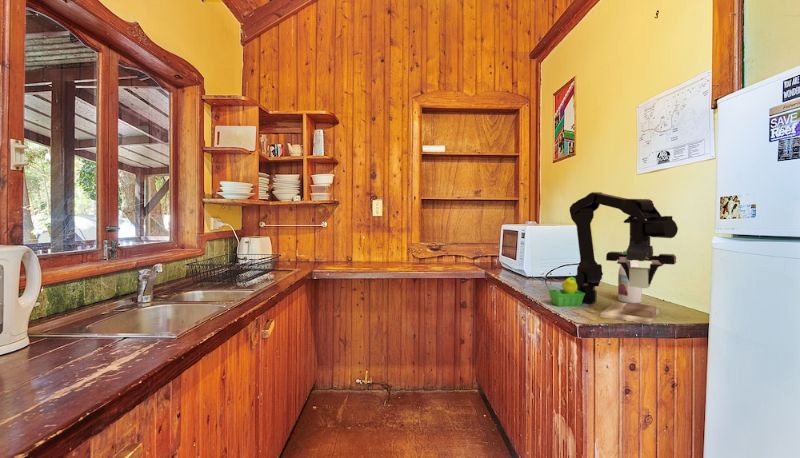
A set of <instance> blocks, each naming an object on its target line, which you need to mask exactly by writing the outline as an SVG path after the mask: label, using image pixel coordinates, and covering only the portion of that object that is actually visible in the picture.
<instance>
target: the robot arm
mask: <svg viewBox="0 0 800 458" xmlns="http://www.w3.org/2000/svg"><path fill="white" fill-rule="evenodd" d="M653 202H654V201H653V200H652V199H649V198H626V197H622V196H617V195H611V194H606V193H603V192H601V191H600V192H598V191H597V192H595V191H592V192H590V193H588V194H586V196H584V197H582V198H580V199H578V200H577V201H575V202H573V203H572V204H571V205H570V207H569V214H570V215H569V216H570V219H571V220H572V221H573V223H574V224H575V225H576V234H577V241H578V250H579V258H580V259H579V260H580V262H579V263H578V266H577V267H576V275H575V276H574V278H575V279H576V283H577V290H578V291H581V292H583V293H585V296H584V298H583V301H582V304H591V305H593V304H594V303H595V302H597V297H598V294H597V293H598V291H597V290H596V287H599V286H600V283H601V280H603V275H604V273H603V265H602V264H600V263H599V264H598V262H597V261H596V260H595V253H594V244H593V236H592V227H591V223H592V221H593V219H594V216H595V214H594V212H595V211H597V210H598V209H599V207H600V205H602V206H606V207H610V208H614V209H618V210H621V212H622V213H624V214H626V215H628V217H627V218H626V219H624V221H623V224H629V243H628V246H627V249H626V250H625V251H626V252H627V254H623V251H609V252H607V253H606V256H605V257H606V258H605V261H608V262H610V261H611V262H616V264H618V265H620V266H622V267H623V269H624V270H625V273H626V275H627V278H628V280H629V269H630V268H631V264H630V261H632V260H636V261H637V262H644V261H645V262H651V263H650V264H649V268H650V272H649V279H648V283H649V285H650V286H651V284H652V281H653V279H654V278H655V277H654V276H655V274H656V271H657V270H658V268H659V267H663V266H664V265H675V264H676V263H677V256H676V255H675V254H674V253H659V255H654V247H653V245H651V238H661V239H663V238H664V239H672V238H675V236H676V235H677V233H678V230H679V228H678V225H677V223H676V221H675V220H674V219H673V216H672V215H663V216H662V214H660V212H659V211H658V210H657V207H655V203H653ZM628 260H629V261H628Z"/></svg>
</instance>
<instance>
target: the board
mask: <svg viewBox="0 0 800 458" xmlns="http://www.w3.org/2000/svg"><path fill="white" fill-rule="evenodd" d="M626 304H627V303H626V302H621V301H615V302H613V303H612V304H611V305H610V306H608V307H606V309H604V310H603V311H601V313H599V317H600V318H606V319H613V320H618V321H624V320H626V321H625V322H630V321H634V322H633V323H636V322H637V323H638V324H643V325H651V324H652V323H653V322H654V320H655V319H656V318H657V317H658V315H659V314H660V312H661V310H662V308H661V307H658V306H656V315H655V316H654V317H653V319H651V318H644V317H638V316H631V315H624V314H623V307H624V306H625V305H626Z"/></svg>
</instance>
